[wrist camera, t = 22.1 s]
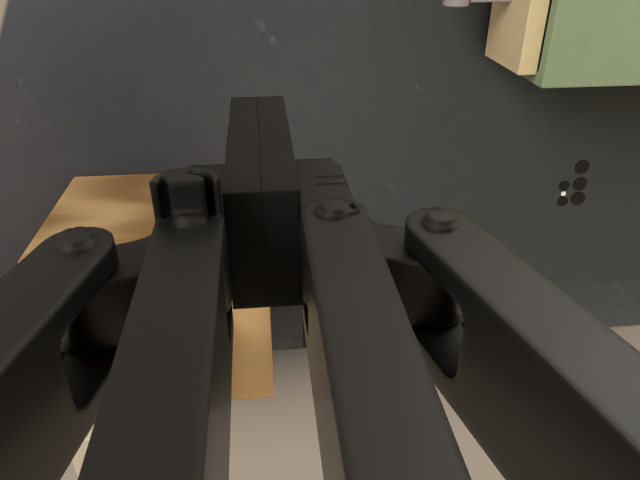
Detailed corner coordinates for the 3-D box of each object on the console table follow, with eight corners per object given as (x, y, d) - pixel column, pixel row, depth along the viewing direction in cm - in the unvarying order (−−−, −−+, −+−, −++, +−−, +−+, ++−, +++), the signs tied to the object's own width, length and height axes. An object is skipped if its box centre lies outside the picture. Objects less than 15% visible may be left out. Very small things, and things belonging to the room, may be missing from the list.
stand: (104, 306, 48) (64, 414, 38) (74, 176, 42) (16, 261, 32) (269, 296, 49) (274, 397, 39) (262, 168, 43) (266, 248, 33)
